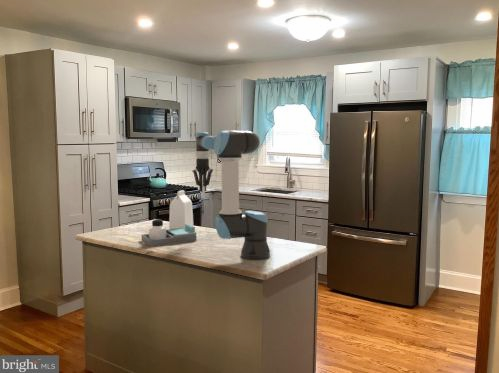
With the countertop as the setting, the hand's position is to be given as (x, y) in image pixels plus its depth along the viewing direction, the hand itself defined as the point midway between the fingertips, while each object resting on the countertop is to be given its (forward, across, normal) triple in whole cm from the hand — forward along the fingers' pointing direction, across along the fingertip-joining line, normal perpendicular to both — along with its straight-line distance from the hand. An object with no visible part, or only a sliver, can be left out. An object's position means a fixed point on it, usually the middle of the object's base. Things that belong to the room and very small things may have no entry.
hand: (202, 196), depth 275 cm
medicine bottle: (+23, +29, 0) cm, 37 cm away
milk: (+25, +6, -20) cm, 32 cm away
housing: (+24, +22, 0) cm, 33 cm away
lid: (+21, +14, 0) cm, 25 cm away
